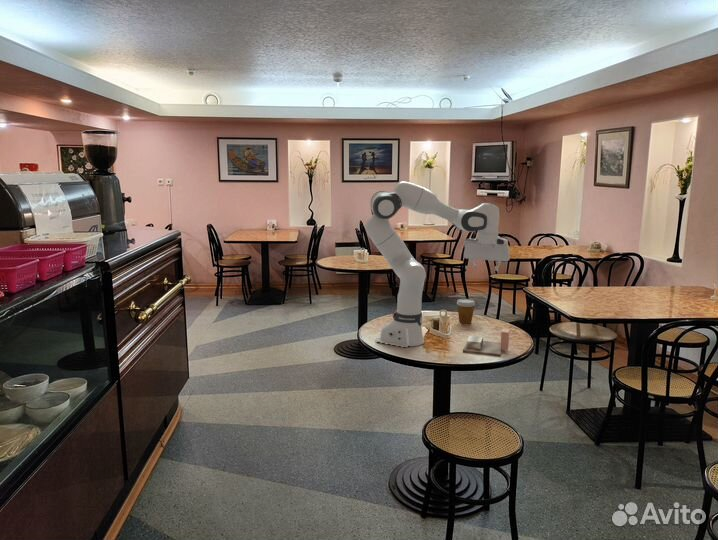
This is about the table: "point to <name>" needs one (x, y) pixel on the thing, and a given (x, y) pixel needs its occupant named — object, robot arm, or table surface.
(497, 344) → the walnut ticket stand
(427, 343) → the table surface
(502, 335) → the terracotta tab
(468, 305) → the disposable coffee cup
